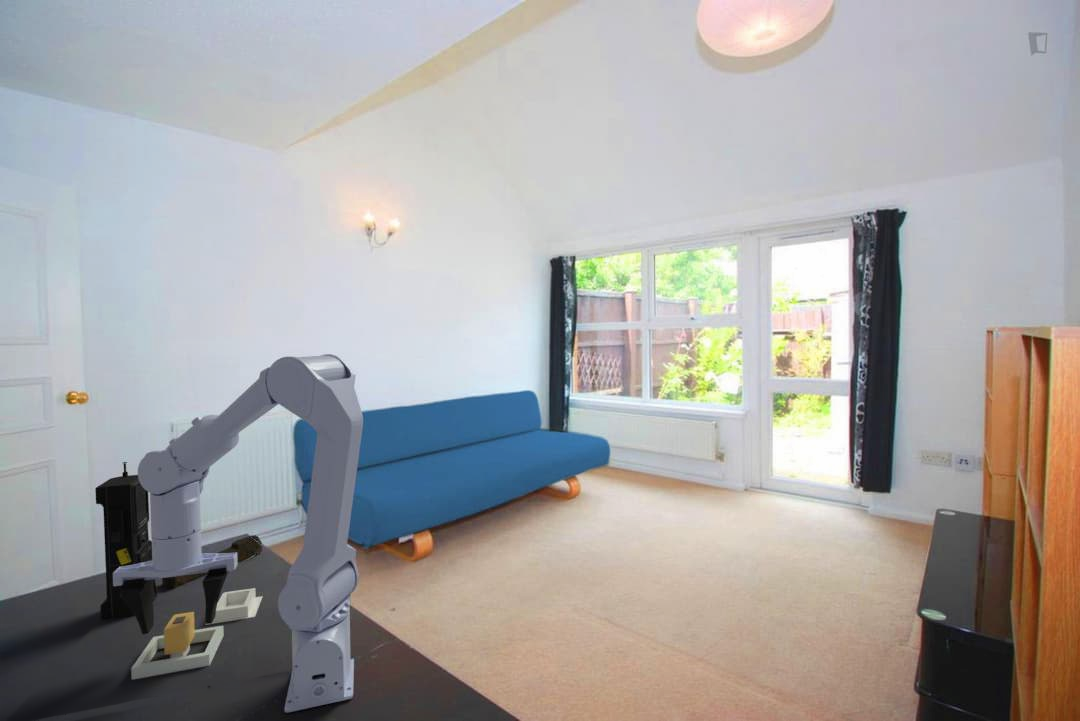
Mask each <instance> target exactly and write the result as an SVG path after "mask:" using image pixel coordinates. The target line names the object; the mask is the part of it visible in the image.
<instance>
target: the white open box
mask: <svg viewBox="0 0 1080 721" xmlns="http://www.w3.org/2000/svg"><path fill="white" fill-rule="evenodd" d="M263 597H264V595H261V596H256V587H253V588H248V589H246V588H245V589H239V590H232V591H225V592H223V593H222V595H220V597H219V599H218V603H217V607H216V615H215V618H214V620H213V622H212V623H210V624H206V623H205V626H207V625H208V626H209V625H212V624H213V625H215V624H219V623H220V624H221V623H225V622H226V623H227V622H232V621H239V620H245V619H252V618H256V615H257V613H258V610H259V607H260V605H261V603H262V599H263Z"/></svg>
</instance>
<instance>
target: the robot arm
mask: <svg viewBox="0 0 1080 721" xmlns="http://www.w3.org/2000/svg"><path fill="white" fill-rule="evenodd" d="M355 383H356V373H355V371H353V370H352V368H351V367H350V366H349V364H347V362H346V361H345V360H343V359H342V358H341V357H340V356H338V355H335V354H331V353H328V354H326V353H325V354H322V355H312V356H311V355H310V356H289V355H288V356H283V357H280V358H278V359H276V360H275V361H274V362H273V363H272V364H271V365H270V366H268V367H267V368H264V369H263V370H261V371H260V372H259V377H258V378H257V380H256V381H255V382H253V383H252V384H251V385H250V386H249V387H248V388H247V389H246V390H244V391H243V393H241V395H240V396H238V397H237V398H236V399H235V400H234V401H233V402H232V403H231V404H230V405H228V406H227V408H226V409H224V410H223V411H222V412H221V413H220V414H208V415H201V416H197V417H195V418H194V419H193V420H191V424H192V425H191V427H190V428H188V429H187V430H186V431H185V432H184V433H182V434H181V435H180V436H177V437H173V438H172V439H170V441H169V442H168V443H169V444H168V446H167V447H165V449H164V450H154V451H149V452H146V454H145V455H144V457H142V459H140V462H139V463H138V466H137V475H138V479H139V481H140V484H141V485H142V487H143V488H144V489H145V490H146V491H148V494H149V501H150V502H149V510H150V532H151V534H150V535H151V541H152V561H147V562H143V563H138V564H134V565H128V566H122V567H119V568H117V569H116V570H115V571H114V572H113V586H120V585H123V589H122V590H121V591H120V597H121V599H122V600H123V601H124V602H125V603H126V604H127V605H128V606H129V607H130V609H131V610H132V611H133V613H134V615H133V616H135V618H136V621H137V623H138V626H139V628H140V631H141V634H142V635H146V634H149V632H150V631H151V630H152V629H153V627H154V623H155V622H154V621H155V614H154V602H153V587H154V579H155V580H157V579H158V580H159V579H162V578H167V577H174V576H182V575H190V574H197V573H205V572H208V574H206V575H205V577H204V578H203V580H202V587H203V591H204V598H205V617H204V618H205V624H208V625H211V624H210V623H212V622H213V620H214V618H215V615H216V607H217V603H218V601H219V600H220V596H221V595H220V594H221V592H222V589H223V587H224V583H225V581H226V579H227V576H228V574H229V573H230V572H233V571H235V570H236V568H237V567H238V564H239V563H238V562H237V553H218V552H216V553H212V552H211V553H210V552H209V553H208V552H207V553H206V552H203V553H202V526H201V525H202V524H201V523H202V522H201V497H200V496H201V494H202V491H204V482H205V479H206V478H207V476H208V474H209V472H210V468H211V467H212V466H213V465H214V464H216V463H217V462H218V461H219V460H220V459H222V458H223V457H224V456H226V455H227V454H228V453H229V452H231V451H232V450H233V449H234V448H236V447H237V445H238V444H239V440H240V435H239V434H240V432H242V431H243V430H244V429H246V428H247V427H249V426H250V425H251V424H253V423H254V422H256V421H257V420H258V419H260V418H261V417H262V416H264V415H265V414H267V413H269V412H270V411H271V410H272V409H274V408H275V407H277V406H278V405H280V407H282V408H284V409H286V410H287V411H289V412H291V413H292V414H294V415H295V416H297V417H298V418H300V419H301V420H303V421H304V422H306V423H308V424H309V425H310V426H311V427H312V429H313V430H315V432H316V440H315V441H316V442H315V448H314V457H313V465H312V471H311V482H310V489H309V497H308V504H307V510H306V511H307V512H306V520H305V527H304V536H303V543H302V544H303V545H302V549H301V550H300V552H299V554H298V556H297V557H296V559H295V561H293V563H292V565H291V567H290V569H289V570H288V575H287V580H286V583H285V586H284V587H283V588H282V589H281V591H280V593H279V596H278V599H277V609H278V611H279V612H278V613H279V615H280V617H281V619H282V620H283V622H284V623H285V624H286V625H287V626H288V629H289V630H291V652H292V653H291V654H292V660H291V661H292V664H291V665H292V667H291V668H292V671H291V676H290V681H289V684H288V690H287V694H286V695H287V696H286V698H285V704H284V710H283V711H284V713H292V712H297V711H301V710H307V709H311V708H315V707H320V706H323V705H328V704H333V703H340V702H343V701H348V700H351V699H352V698H353V696H354V681H355V680H354V678H355V676H354V675H355V674H354V673H355V672H354V671H355V657H351V612H350V604H351V603H352V601H351V594H353V593H354V592H355V590H356V589H357V587H358V585H359V579H360V574H359V570H358V566H357V563H356V555H357V550H356V548H354V547H353V546H351V545H349V544H348V539H349V534H350V533H349V532H350V525H351V524H350V523H351V516H352V509H353V502H354V496H355V495H354V494H355V486H356V480H357V471H358V465H359V464H358V463H359V457H360V448H361V442H362V435H363V434H362V433H363V426H364V415H363V412H362V408H361V405H360V402H359V398H358V395H357V393H356V392H357V391H356V389H355Z"/></svg>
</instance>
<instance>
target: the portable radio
mask: <svg viewBox="0 0 1080 721" xmlns="http://www.w3.org/2000/svg"><path fill="white" fill-rule="evenodd" d="M127 463H128V462H127V461H124V462H122V464H123V472H122V475H121V476H117V477H111V478H109V479H107V480H106V481H104V482H103V483H101V484H99V485H98V486H97V487H95V492H94V493H95V504H96V505H101V506H102V508H103V512H102V513H103V533H104V554H105V555H104V557H105V558H104V559H105V560H104V561H105V581H106V599H104V601H103V602H102V603H101V604H100V605H99V606H100V620H113V619H120V618H124V617H125V618H127V617H133V616H135V615H134V613H133V611H132V610H131V609H130V607H129V606H128V605H127V604H126V603H125V602H124V601H123V600H122V599H121V597H120V591H121V590H122V589H123V585H120V586H113V572H114V571H115V570H116V569H117V568H119V567H122V566H128V565H134V564H138V563H143V562H147V561H152V540H149V538H150V536H149V522H150V502H149V501H150V498H149V492H148V491H146V490H145V489H144V488H143V487H142V485H141V484H140V481H139V479H138V474H133V475H132V474H131V475H130V474H129V471H127ZM157 597H158V590H157V584H156V579H154V587H153V603H154V602H155V600H156V599H157Z"/></svg>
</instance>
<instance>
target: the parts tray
mask: <svg viewBox="0 0 1080 721" xmlns="http://www.w3.org/2000/svg"><path fill="white" fill-rule="evenodd" d="M224 636H225V635H224V625H220V626H219V625H218V626H212V627H206V628H200V629H195V636H194V638H193V639H192V641H191V643H190V645H191V644H196V643H201V642H208V641H209V642H208V644H207V647H206V648H205V649H204V650H205V651H204V652H200V653H195V654H194V653H193V654H189V655H188V654H187V655H186V656H182V657H176V658H166V659H165V658H164V659H161V660H154V661H152V659H153V658H154V656H155V654H156V653H157V652H158V650H160V649H161V650H162V649H164V634H163V635H158V636H153V637H152V638H151V640H150V641H149V642H148V643H147V645H146V647H145V649H143V651H142V652H141V653H140V656H139V657H138V658H137V659H136V661H135V663H133V665H132V666H131V670H130V672H131V681H132V680H139V679H143V678H148V677H154V676H155V677H156V676H160V675H166V674H170V673H177V672H180V671H186V670H187V671H188V670H192V669H197V668H204V667H208V666H209V667H210V666H211V663H212V661H213V659H214V657H215V655H216V652H217V650H218V648H219V646H220V645H221V642H222V640H223V638H224Z"/></svg>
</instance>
